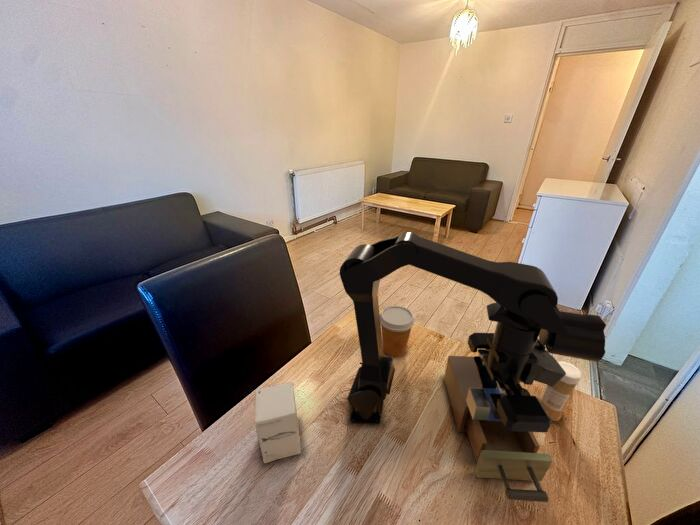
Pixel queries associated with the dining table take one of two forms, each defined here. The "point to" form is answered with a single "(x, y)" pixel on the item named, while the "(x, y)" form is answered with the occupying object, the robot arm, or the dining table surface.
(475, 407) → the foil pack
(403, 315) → the orange tub
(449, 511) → the dining table surface
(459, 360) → the cabinet
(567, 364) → the sprinkles bottle
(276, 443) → the white packaging box
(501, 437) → the drawer
